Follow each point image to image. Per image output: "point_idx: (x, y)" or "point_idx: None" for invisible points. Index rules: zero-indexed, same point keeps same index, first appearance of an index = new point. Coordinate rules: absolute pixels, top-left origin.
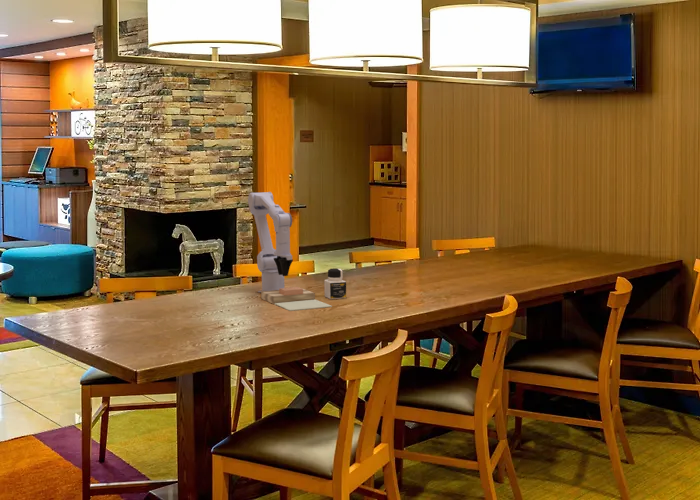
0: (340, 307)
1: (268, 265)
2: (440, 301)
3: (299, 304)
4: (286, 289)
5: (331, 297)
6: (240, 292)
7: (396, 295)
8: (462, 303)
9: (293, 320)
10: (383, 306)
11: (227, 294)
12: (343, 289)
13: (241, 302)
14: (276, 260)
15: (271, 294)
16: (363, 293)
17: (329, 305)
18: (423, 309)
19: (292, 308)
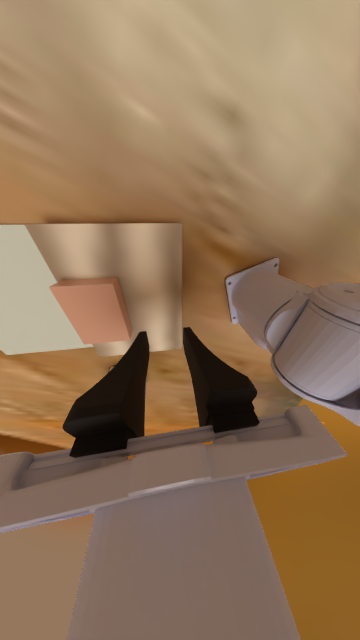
0: (4, 363)
1: (309, 329)
2: (71, 436)
3: (20, 298)
4: (79, 300)
5: (109, 370)
6: (326, 198)
7: None
8: (56, 443)
9: None
10: (27, 405)
11: (354, 98)
12: None
13: (116, 41)
14: (205, 384)
15: (92, 237)
16: (151, 400)
17: (11, 352)
18: (4, 427)
19: None
